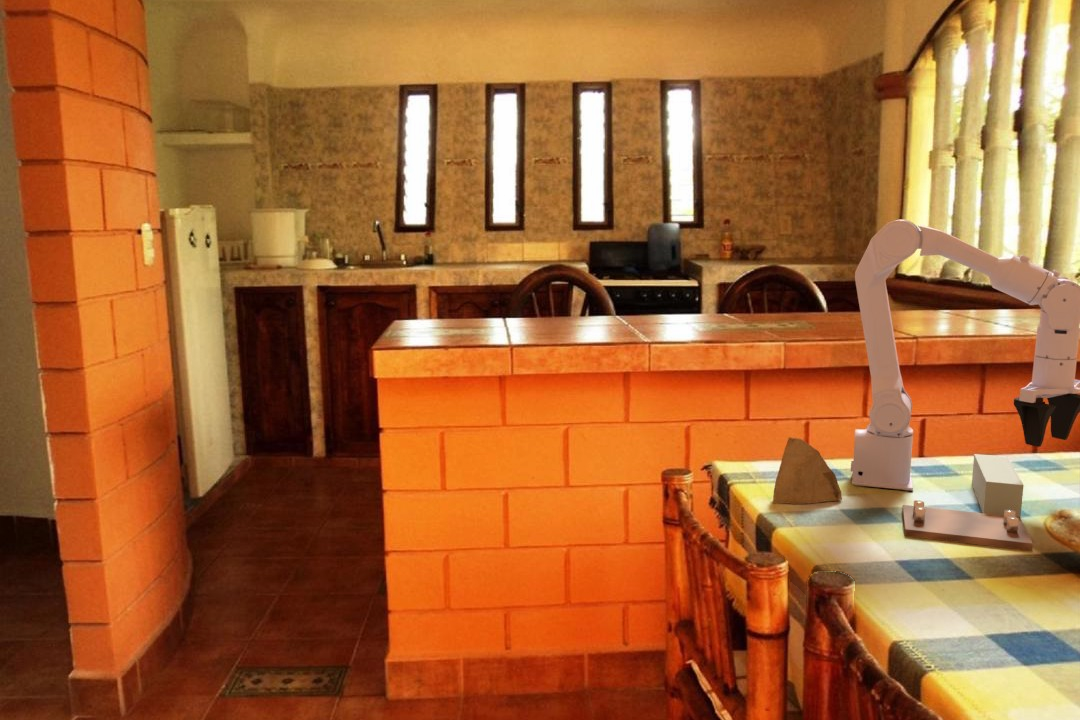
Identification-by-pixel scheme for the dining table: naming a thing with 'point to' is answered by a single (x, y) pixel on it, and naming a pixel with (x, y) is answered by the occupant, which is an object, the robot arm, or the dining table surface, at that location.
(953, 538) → the peg rack
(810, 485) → the rock
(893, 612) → the dining table surface
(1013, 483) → the off-white rectangular block
